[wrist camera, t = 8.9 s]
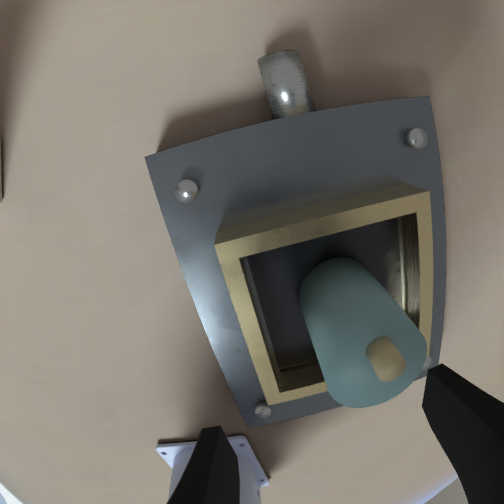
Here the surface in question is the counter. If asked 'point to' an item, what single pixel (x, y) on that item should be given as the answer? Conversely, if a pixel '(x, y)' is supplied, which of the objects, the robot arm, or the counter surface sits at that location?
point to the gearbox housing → (303, 229)
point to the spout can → (359, 334)
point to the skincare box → (0, 174)
